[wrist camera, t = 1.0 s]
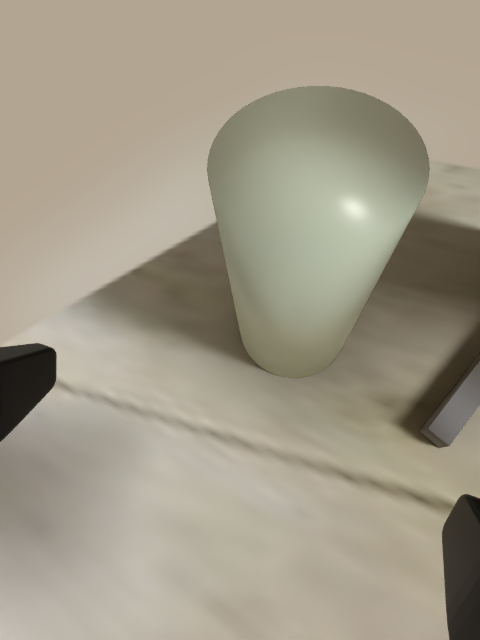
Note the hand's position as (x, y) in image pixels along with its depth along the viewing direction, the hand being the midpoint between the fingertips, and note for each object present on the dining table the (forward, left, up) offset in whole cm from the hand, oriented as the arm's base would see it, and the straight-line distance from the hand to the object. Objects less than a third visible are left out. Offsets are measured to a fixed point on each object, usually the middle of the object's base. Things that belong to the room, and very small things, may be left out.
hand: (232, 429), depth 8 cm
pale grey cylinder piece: (+4, +7, -13) cm, 15 cm away
